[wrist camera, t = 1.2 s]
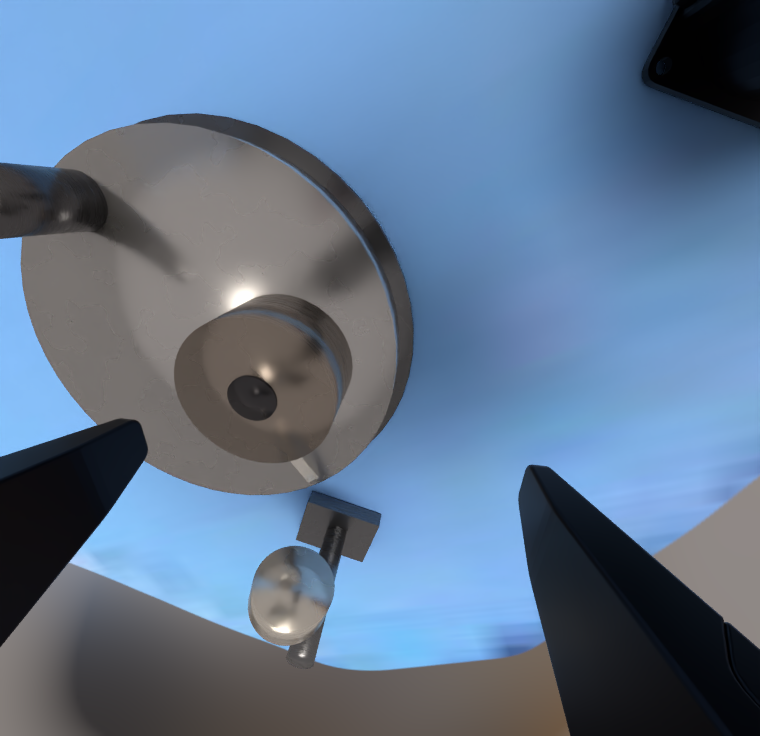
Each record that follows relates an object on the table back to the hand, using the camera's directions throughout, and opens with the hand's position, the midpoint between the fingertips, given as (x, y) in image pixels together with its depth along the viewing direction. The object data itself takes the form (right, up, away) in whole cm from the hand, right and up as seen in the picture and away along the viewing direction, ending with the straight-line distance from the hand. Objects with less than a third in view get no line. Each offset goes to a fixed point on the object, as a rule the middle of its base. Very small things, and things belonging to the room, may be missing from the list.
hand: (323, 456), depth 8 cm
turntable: (-7, +4, +12) cm, 14 cm away
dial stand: (-2, -9, +17) cm, 19 cm away
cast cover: (-3, +2, +9) cm, 10 cm away
